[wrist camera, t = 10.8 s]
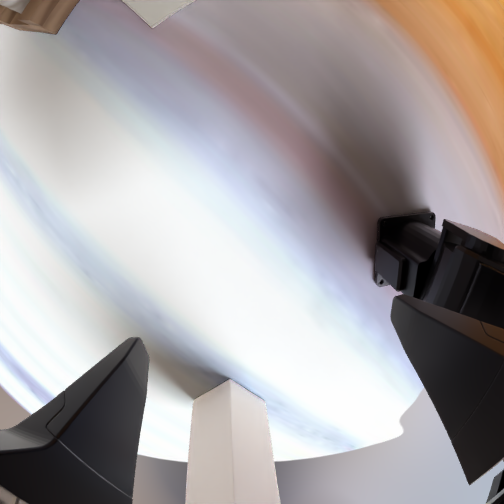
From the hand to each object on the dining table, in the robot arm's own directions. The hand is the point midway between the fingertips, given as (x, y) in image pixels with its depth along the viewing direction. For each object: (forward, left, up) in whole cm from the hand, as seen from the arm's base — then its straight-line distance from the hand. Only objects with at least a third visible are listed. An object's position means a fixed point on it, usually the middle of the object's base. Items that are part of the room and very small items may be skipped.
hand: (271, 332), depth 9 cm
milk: (+5, +20, -13) cm, 24 cm away
